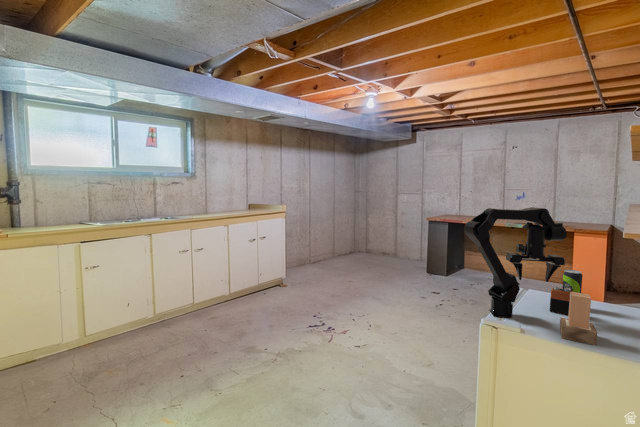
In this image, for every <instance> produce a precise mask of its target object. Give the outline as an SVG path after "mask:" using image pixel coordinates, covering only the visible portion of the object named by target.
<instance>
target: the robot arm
mask: <svg viewBox="0 0 640 427" xmlns="http://www.w3.org/2000/svg"><path fill="white" fill-rule="evenodd" d="M498 220H515V221H520V220H521V221H525V222H526V223H525V224H524V225H523V226H522V228H523V229H525V230H526V229H527V237H526V241H525V244H523V243H522V244H521V243H517V244H516V246H515V248H516V249H515V251H516V252H507V253H506V254H505V260H506V261H507V262H509V263H511V264H512V265H513V266H514V268H515V271H516V275H517V277H518V280H519V281H521V280H522V278H523V263H522V261H524V262H525V261H526V262H529V261H530V262H542V263H543V262H544V263H545V264H546V268H545V269H546V271H545V276H544V277H545V278H544V279H545V282H546V283H547V282H549V280H550V278H552V276H553V274H554V273H555V272H556V271H557V270H558V268H561V266H565V265H566V259H565V258H564V257H563V256H562V255H559V254H547V256H546V255H545V248H546V246H547V244H545V243H546V241H547V242H548V241H553V242H554V241H564V240H566V238H567V234H568V232H567V229H566V228H565V227H564V223H563V222H555V221H554V219H553V218H552V216H551V215H550V211H549V209H547V208H544V207H534V206H532V207H531V206H530V207H526V208H522V209H504V208H492V207H488V208H486V209H485V210H483V211H482V212H481V213H480V214H478V215H476V216H475V217H473V218H472V219H471V220H469V221H467V222H466V223H465V225H464V227H463V232H464V234H465V235H466V236H467V237H468V238H469V239H470V240H471V241H472V242H473V244H475V245H476V247H477V248H478V250H479V252H480V254H481V256H482V257H483V259H484V261H485V263H486V265H487V267H488V269H489V270H490V272H491V274H492V276H493V277H492V283H493V285H492V286H491V287H490V288H489V289H488V296H490V297H491V301H490V302H491V303H490V304H491V305H490V309H488V311H489V312H490V313H491V315H492V316H493V317H495V318H496V317H497V318H506V319H507V318H509V319H513V309H514V304H513V303H515V302H516V299H517V297H518V294H519V291H520V290H521V289H520V285H521V284H520V283H519V282H518V280H517V277H516V276H515V274H512V273H509V272H507V271H506V269H505V268H504V265H503V263H502V262H501V260H500V258H499V256H498V254H497V253H496V251H495V249H494V247H493V245H492V243H491V241H490V240H491V239H490V238H491V237H490V236H491V234H490V230H491V229H492V228H493V227H494V225H495V223H496V222H497V221H498ZM493 310H494V311H493Z"/></svg>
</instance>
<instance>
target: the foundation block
mask: <svg viewBox="0 0 640 427" xmlns="http://www.w3.org/2000/svg"><path fill="white" fill-rule="evenodd" d="M559 332H560V334H559V335H560V338H561V339H563V340H568V341H573V342H578V343H582V344H588V345H592V346H593V345H594V346H597V340H598V331H597V329H596V326H595V324H594V323H593V322H589V329H586V328H580V327H575V326H570V325H569V322H568V318H566V317H560V318H559Z"/></svg>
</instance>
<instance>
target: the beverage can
mask: <svg viewBox="0 0 640 427" xmlns="http://www.w3.org/2000/svg"><path fill="white" fill-rule="evenodd" d="M582 273H583V272H582V271H579V270H575V269H564V272H563V277H562V288H561V289H564V288H569V289H571V291H573V292H577V293H582V285H583V274H582Z"/></svg>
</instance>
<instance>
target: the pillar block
mask: <svg viewBox="0 0 640 427" xmlns="http://www.w3.org/2000/svg"><path fill="white" fill-rule="evenodd" d="M591 305H592V297H591V295H590V294H589V293H582V292H581V293H577V292H570V301H569V314H568V316H567V319H568V322H569V325H570V326H575V327H580V328H586V329H589V323H590V315H591Z"/></svg>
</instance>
